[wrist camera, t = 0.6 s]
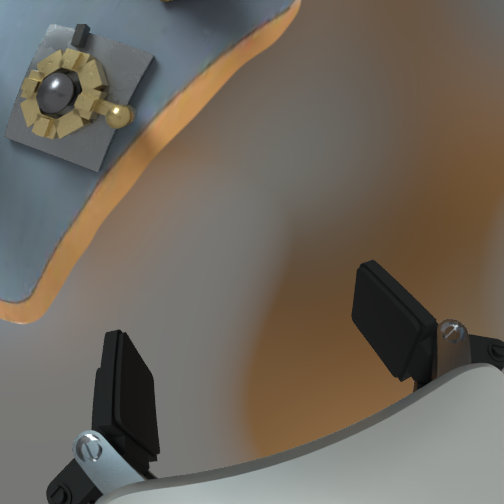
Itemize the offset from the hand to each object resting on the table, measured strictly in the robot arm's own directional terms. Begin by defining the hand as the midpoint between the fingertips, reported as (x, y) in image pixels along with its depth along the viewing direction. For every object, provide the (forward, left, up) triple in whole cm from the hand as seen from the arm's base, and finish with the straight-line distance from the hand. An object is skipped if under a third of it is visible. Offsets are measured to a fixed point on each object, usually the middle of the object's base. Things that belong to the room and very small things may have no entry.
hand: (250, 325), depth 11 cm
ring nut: (-15, +3, -23) cm, 28 cm away
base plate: (-17, +3, -25) cm, 30 cm away
